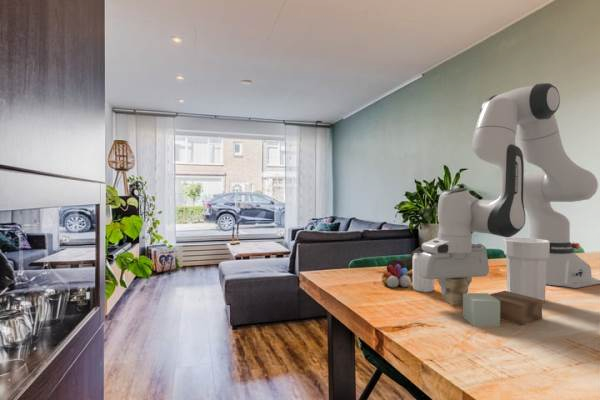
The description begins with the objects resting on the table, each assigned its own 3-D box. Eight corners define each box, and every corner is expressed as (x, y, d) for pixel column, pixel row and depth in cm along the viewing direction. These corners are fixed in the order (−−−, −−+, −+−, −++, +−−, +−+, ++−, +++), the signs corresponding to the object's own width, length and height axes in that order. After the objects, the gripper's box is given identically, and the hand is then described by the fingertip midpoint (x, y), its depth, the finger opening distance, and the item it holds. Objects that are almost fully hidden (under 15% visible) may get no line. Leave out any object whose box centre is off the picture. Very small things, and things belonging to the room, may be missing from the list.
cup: (494, 296, 100) (494, 238, 100) (518, 291, 104) (518, 236, 104) (533, 307, 89) (533, 243, 89) (558, 301, 94) (558, 241, 94)
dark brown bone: (423, 270, 144) (391, 291, 124) (411, 248, 146) (378, 266, 127) (445, 262, 136) (415, 283, 117) (432, 239, 139) (400, 255, 119)
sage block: (487, 317, 83) (487, 293, 83) (500, 326, 77) (500, 301, 77) (462, 316, 83) (462, 293, 83) (473, 325, 78) (473, 300, 77)
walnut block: (504, 309, 89) (504, 290, 89) (542, 319, 81) (542, 299, 81) (484, 314, 85) (484, 295, 85) (521, 327, 77) (521, 305, 77)
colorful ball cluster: (378, 282, 117) (378, 262, 117) (404, 281, 118) (404, 261, 118) (386, 289, 108) (386, 267, 108) (414, 288, 109) (414, 266, 109)
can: (435, 293, 103) (435, 255, 103) (414, 292, 104) (413, 254, 104) (431, 287, 110) (431, 251, 109) (411, 286, 111) (411, 251, 111)
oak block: (456, 299, 97) (456, 275, 97) (466, 303, 93) (466, 279, 93) (442, 300, 96) (442, 276, 96) (452, 305, 92) (452, 280, 92)
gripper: (478, 242, 99) (478, 287, 100) (416, 244, 96) (416, 291, 96) (494, 245, 93) (494, 293, 93) (428, 247, 89) (429, 298, 90)
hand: (454, 292), depth 95 cm, fingers closed on oak block, 4 cm apart
